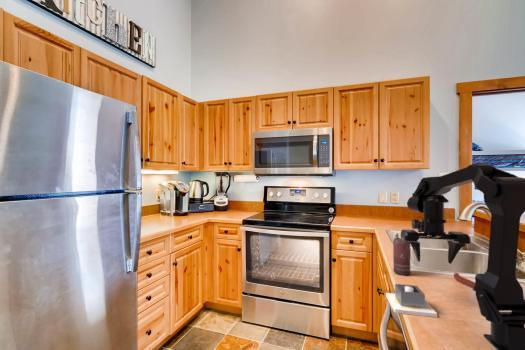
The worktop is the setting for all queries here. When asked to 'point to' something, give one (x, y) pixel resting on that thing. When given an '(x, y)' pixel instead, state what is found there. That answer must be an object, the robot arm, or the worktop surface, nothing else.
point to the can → (401, 256)
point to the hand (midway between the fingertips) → (434, 262)
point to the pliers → (464, 281)
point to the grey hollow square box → (410, 296)
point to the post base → (410, 310)
